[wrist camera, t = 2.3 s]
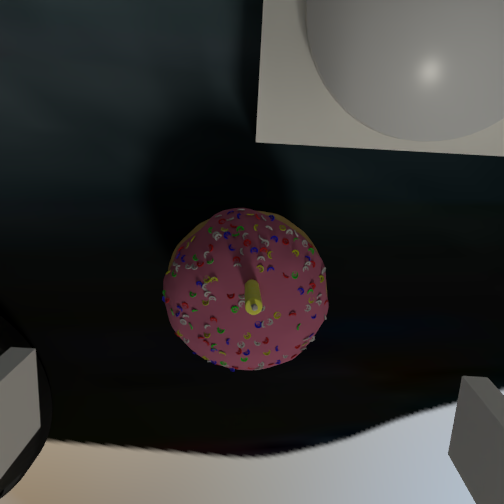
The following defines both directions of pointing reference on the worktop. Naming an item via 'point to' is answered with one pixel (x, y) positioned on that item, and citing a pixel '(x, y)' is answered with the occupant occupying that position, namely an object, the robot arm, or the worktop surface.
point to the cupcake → (246, 290)
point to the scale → (383, 75)
